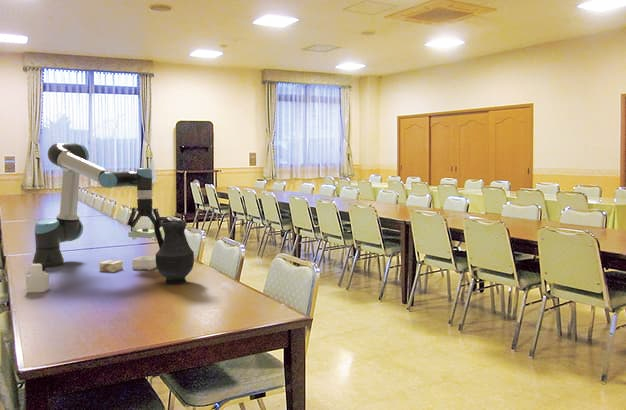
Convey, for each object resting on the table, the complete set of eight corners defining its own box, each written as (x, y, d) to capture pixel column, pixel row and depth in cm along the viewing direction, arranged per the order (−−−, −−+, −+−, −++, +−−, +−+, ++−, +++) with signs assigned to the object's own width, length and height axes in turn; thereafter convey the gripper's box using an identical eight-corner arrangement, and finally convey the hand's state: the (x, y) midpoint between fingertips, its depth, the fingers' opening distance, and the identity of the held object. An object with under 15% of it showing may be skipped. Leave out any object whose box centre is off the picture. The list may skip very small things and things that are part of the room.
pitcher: (175, 288, 256) (173, 220, 253) (142, 282, 267) (140, 217, 264) (202, 281, 270) (201, 217, 267) (170, 276, 281) (169, 214, 278)
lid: (128, 236, 296) (128, 229, 295) (141, 233, 307) (141, 226, 307) (149, 238, 292) (149, 230, 292) (161, 234, 304) (161, 227, 304)
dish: (132, 268, 298) (132, 259, 297) (142, 265, 307) (142, 255, 307) (149, 270, 295) (149, 260, 295) (159, 266, 305) (159, 256, 304)
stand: (99, 270, 292) (99, 263, 292) (109, 267, 300) (108, 260, 300) (113, 271, 290) (113, 263, 290) (122, 268, 298) (122, 261, 298)
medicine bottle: (33, 288, 254) (32, 261, 253) (50, 288, 255) (48, 261, 254) (26, 292, 247) (25, 265, 246) (43, 292, 248) (42, 264, 247)
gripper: (119, 198, 297) (120, 239, 299) (162, 199, 291) (162, 242, 293) (127, 196, 305) (128, 237, 307) (169, 198, 298) (170, 240, 301)
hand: (145, 239), depth 300 cm, fingers closed on lid, 12 cm apart
